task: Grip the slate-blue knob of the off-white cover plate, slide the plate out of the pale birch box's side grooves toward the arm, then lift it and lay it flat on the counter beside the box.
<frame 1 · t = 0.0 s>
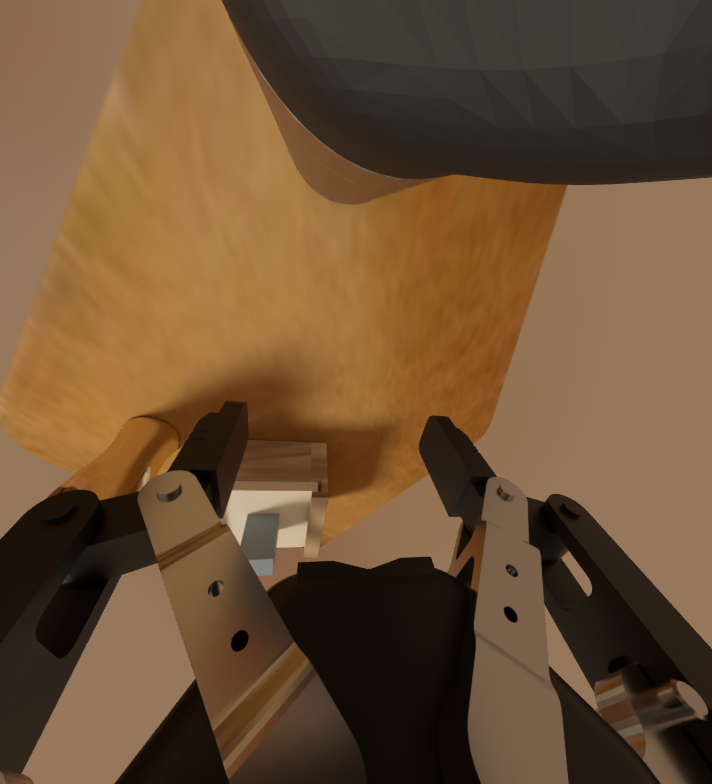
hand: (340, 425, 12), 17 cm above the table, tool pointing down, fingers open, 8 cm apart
lid box: (272, 473, 38), on the table
cover plate: (265, 512, 33), point 6 cm above the table, touching lid box
beer glass: (153, 435, 32), on the table
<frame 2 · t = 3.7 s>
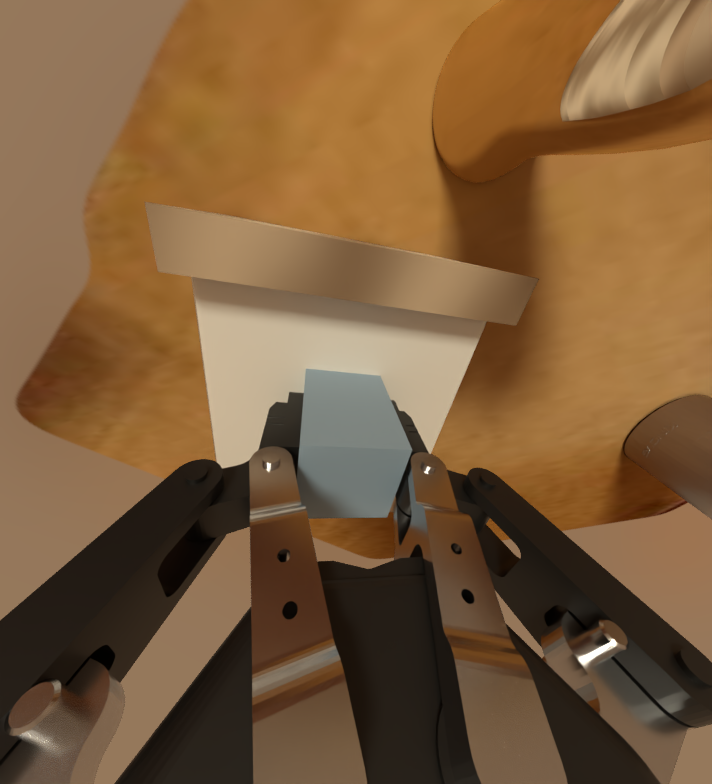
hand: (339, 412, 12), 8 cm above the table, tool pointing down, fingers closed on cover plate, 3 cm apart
lid box: (331, 348, 19), on the table
cover plate: (337, 390, 14), point 6 cm above the table, touching gripper, lid box
beer glass: (487, 109, 14), on the table
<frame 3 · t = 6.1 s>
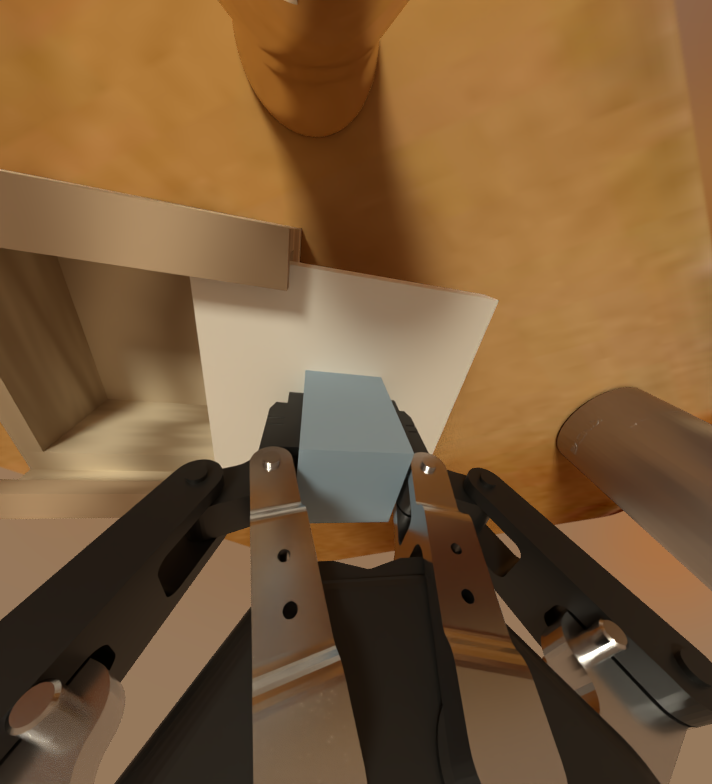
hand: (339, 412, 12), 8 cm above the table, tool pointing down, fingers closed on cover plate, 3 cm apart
lid box: (193, 332, 17), on the table
cover plate: (337, 392, 14), point 6 cm above the table, touching gripper
beer glass: (308, 46, 12), on the table
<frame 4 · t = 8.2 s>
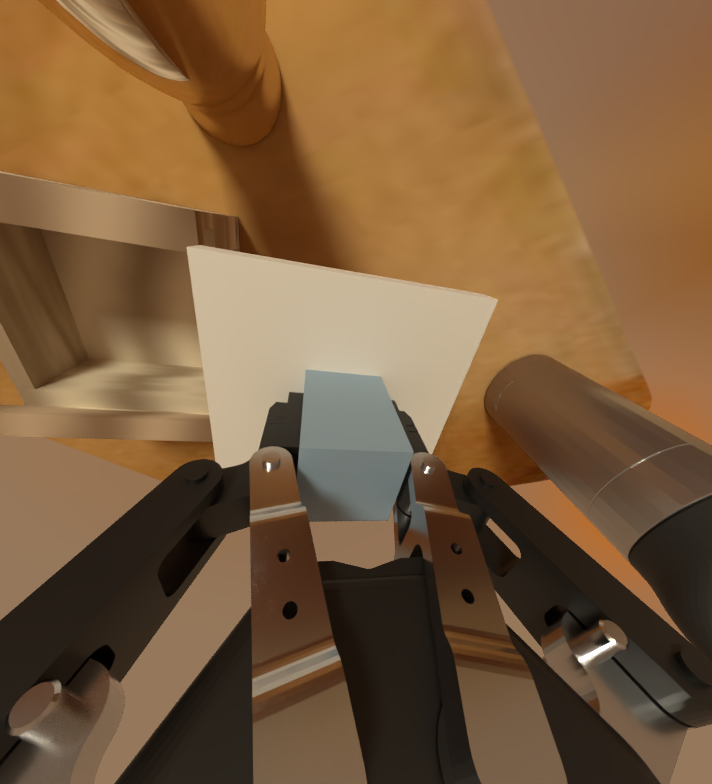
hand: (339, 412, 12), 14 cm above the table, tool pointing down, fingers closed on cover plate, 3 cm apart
lid box: (157, 303, 21), on the table
cover plate: (337, 391, 14), point 12 cm above the table, touching gripper
beer glass: (229, 79, 16), on the table
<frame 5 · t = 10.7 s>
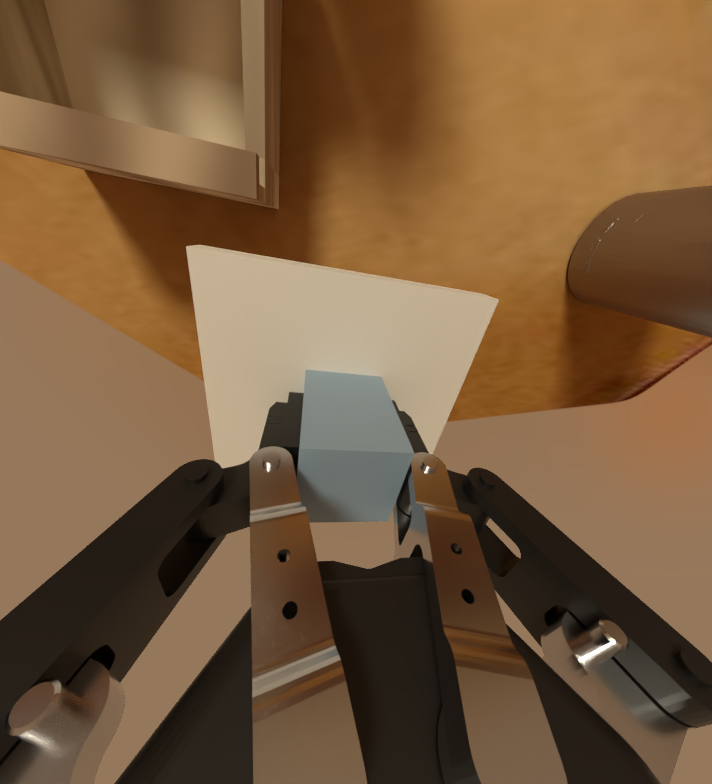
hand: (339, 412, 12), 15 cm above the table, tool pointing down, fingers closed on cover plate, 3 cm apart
lid box: (169, 46, 16), on the table
cover plate: (337, 392, 14), point 13 cm above the table, touching gripper
when the fingers open (3 cm above the table, at t = 13.0 s): cover plate drops 2 cm, on the table.
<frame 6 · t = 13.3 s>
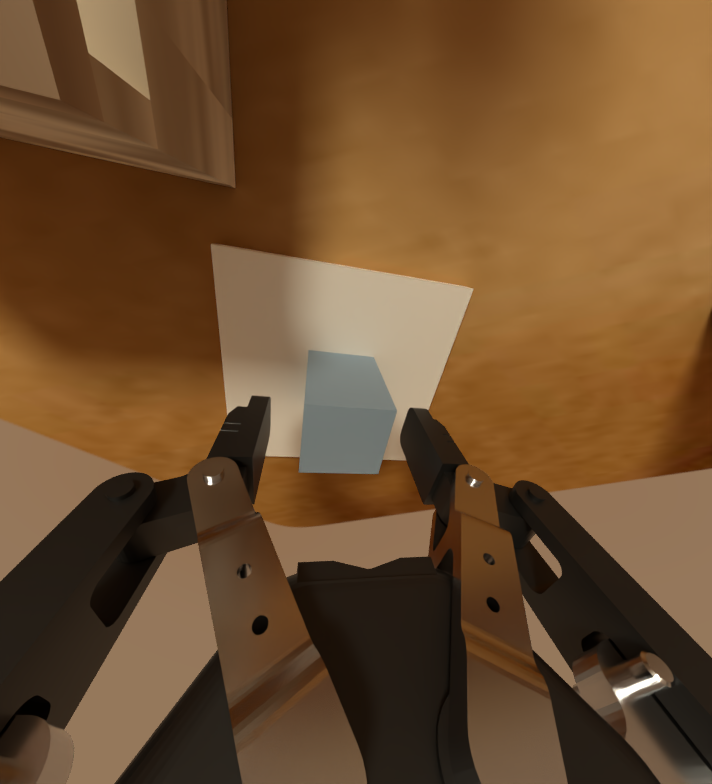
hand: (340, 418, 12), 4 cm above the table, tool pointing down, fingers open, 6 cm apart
cover plate: (336, 372, 16), on the table
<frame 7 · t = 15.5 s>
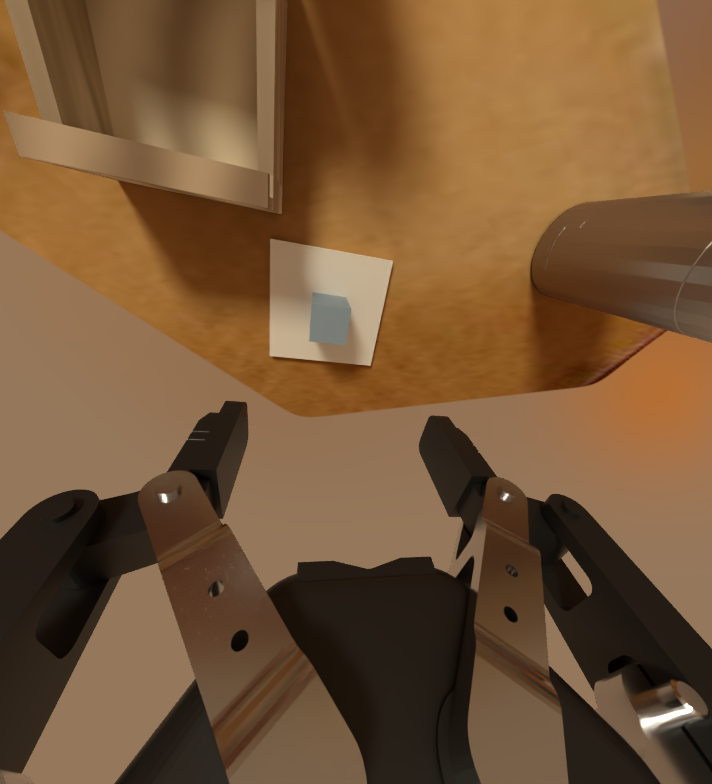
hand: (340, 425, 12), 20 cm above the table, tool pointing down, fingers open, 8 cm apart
lid box: (193, 81, 19), on the table
cover plate: (327, 308, 30), on the table
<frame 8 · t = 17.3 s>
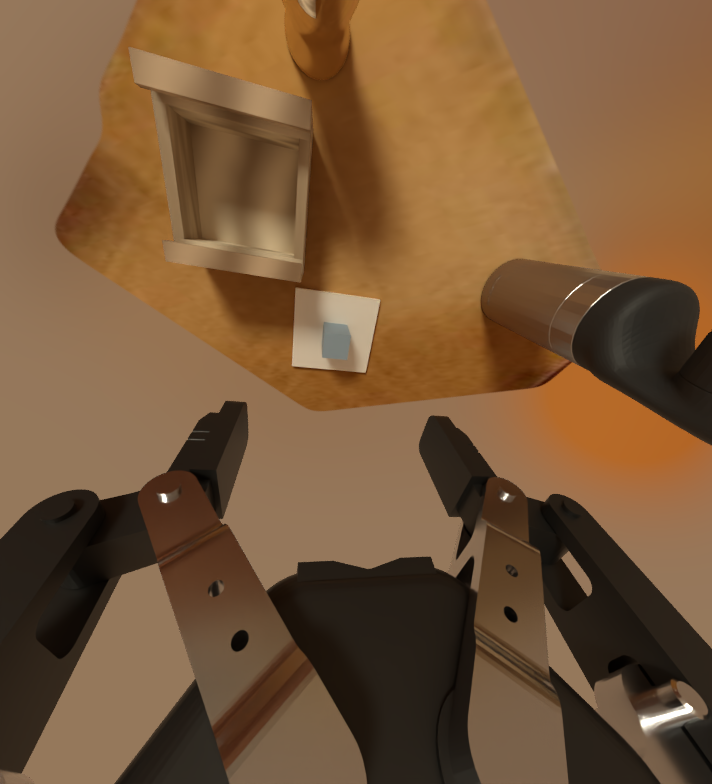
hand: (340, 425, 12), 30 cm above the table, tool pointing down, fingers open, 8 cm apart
lid box: (251, 197, 31), on the table
cover plate: (333, 332, 41), on the table
beer glass: (317, 35, 25), on the table
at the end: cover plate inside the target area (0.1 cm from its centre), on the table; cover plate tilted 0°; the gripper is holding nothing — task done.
